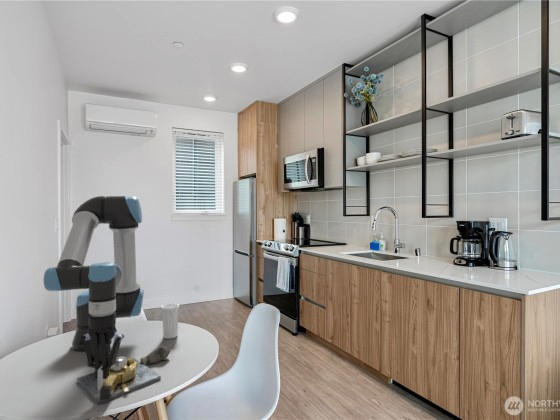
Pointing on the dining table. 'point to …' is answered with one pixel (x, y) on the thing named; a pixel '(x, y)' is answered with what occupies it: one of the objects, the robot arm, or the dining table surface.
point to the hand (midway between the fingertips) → (102, 388)
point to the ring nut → (118, 378)
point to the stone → (156, 355)
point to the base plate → (140, 380)
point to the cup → (170, 320)
